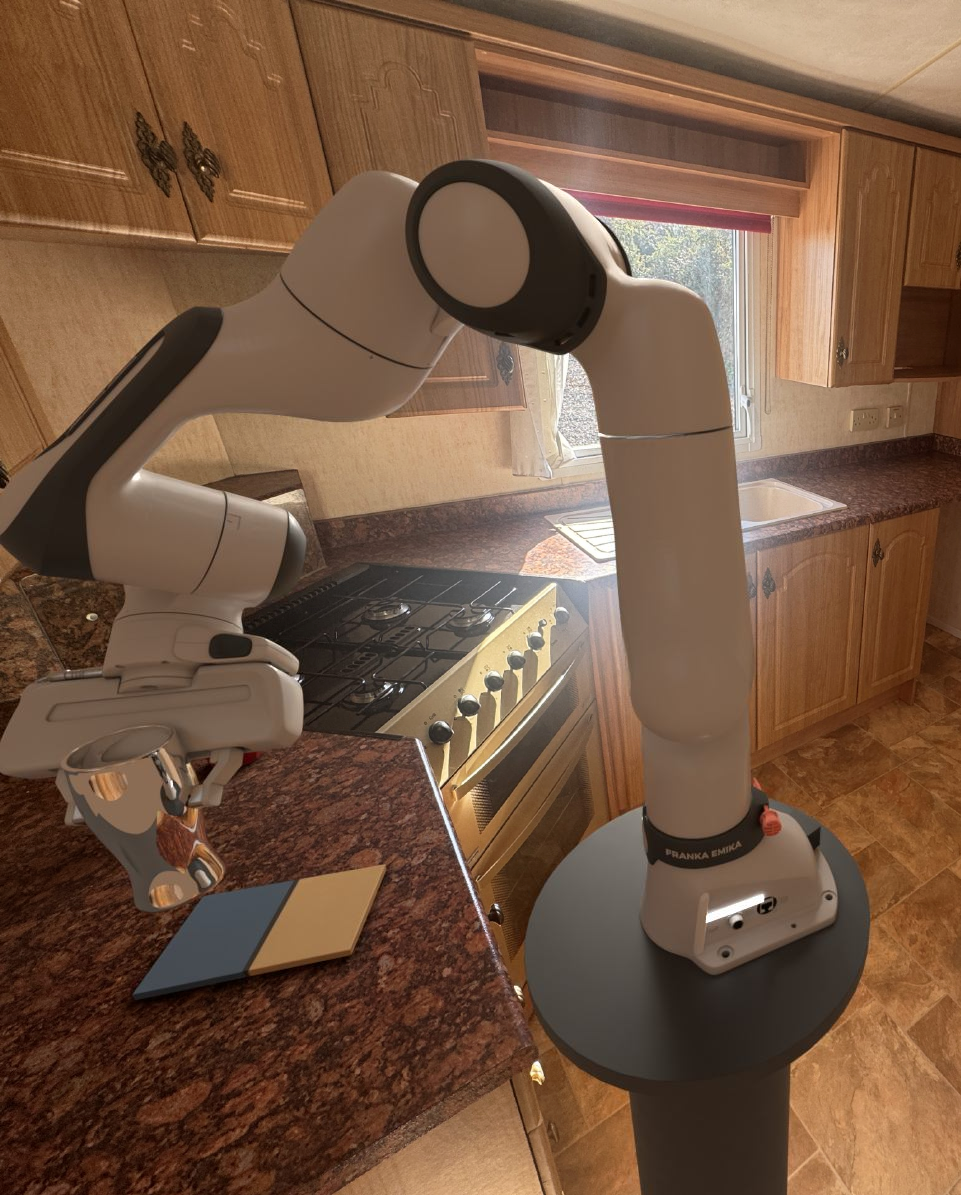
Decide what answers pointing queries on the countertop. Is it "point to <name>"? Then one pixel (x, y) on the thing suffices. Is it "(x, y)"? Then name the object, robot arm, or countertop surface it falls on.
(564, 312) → the robot arm
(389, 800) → the countertop surface
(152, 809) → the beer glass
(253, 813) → the countertop surface
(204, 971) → the sorting board
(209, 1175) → the countertop surface
